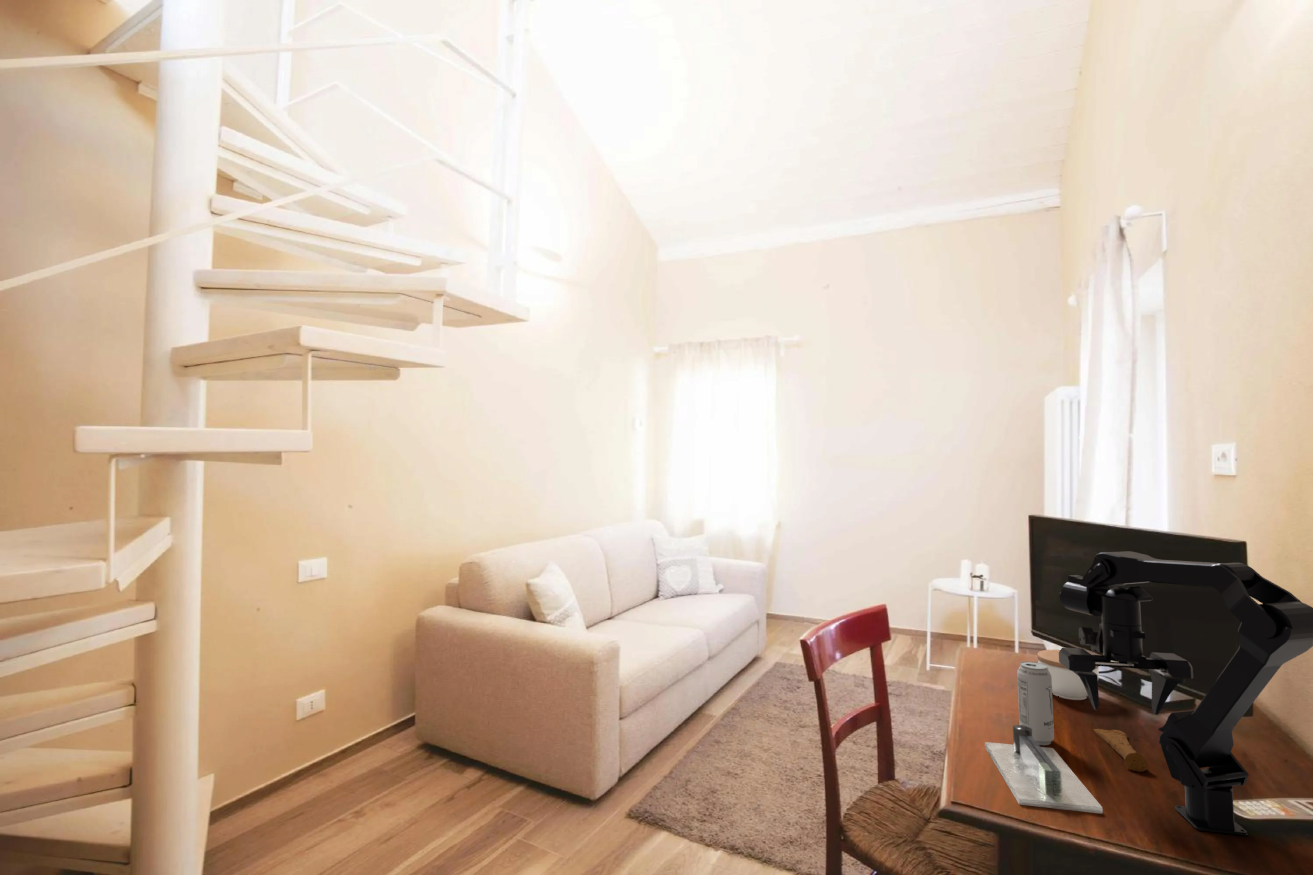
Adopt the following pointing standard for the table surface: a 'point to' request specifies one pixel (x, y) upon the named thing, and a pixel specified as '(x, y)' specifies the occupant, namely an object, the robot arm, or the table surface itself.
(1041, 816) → the table surface
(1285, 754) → the table surface
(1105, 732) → the primitive tool
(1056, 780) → the green glass bar
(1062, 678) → the lidded bowl
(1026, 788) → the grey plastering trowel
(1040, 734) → the energy drink can
